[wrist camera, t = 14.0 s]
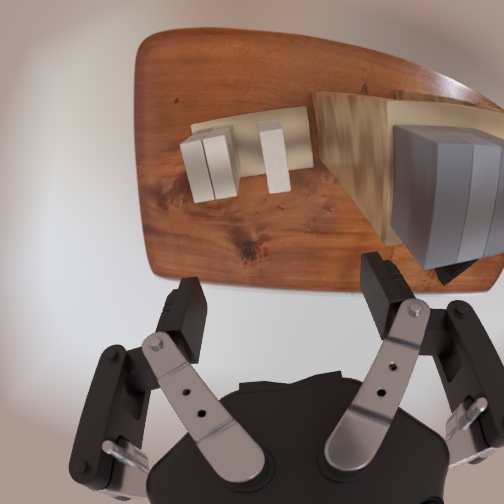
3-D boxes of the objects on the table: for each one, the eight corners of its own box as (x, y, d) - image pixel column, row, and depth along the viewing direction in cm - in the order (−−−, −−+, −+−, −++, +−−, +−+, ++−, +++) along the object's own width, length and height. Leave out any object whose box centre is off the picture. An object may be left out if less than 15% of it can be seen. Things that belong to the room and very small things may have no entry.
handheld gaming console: (439, 282, 51) (460, 314, 43) (424, 245, 46) (450, 277, 38) (471, 258, 48) (495, 287, 39) (460, 218, 43) (489, 246, 34)
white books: (191, 124, 36) (170, 137, 27) (306, 105, 35) (323, 112, 26) (204, 182, 41) (190, 212, 32) (313, 166, 39) (330, 191, 31)
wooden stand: (311, 91, 34) (432, 110, 9) (401, 90, 32) (567, 135, 8) (319, 159, 39) (414, 292, 14) (404, 153, 37) (543, 257, 13)
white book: (258, 121, 36) (259, 131, 27) (276, 118, 35) (282, 128, 27) (266, 169, 39) (269, 194, 31) (283, 166, 39) (291, 191, 31)
